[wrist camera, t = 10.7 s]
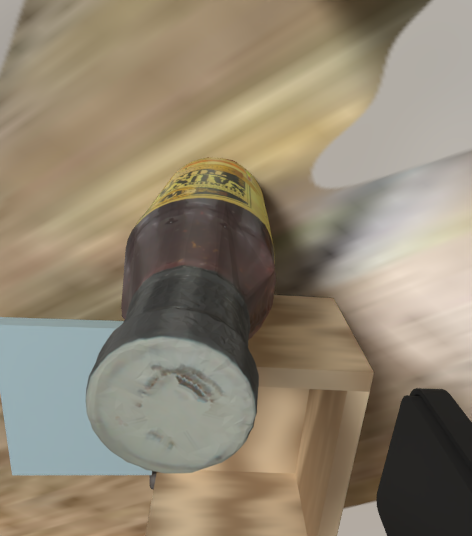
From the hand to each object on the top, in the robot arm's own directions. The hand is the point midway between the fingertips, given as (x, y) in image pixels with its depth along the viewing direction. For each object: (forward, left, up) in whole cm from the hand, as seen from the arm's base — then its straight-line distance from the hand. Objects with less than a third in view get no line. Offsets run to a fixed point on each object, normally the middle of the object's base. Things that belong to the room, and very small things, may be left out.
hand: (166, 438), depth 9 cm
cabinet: (-3, +14, -21) cm, 26 cm away
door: (+8, +14, -20) cm, 25 cm away
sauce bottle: (0, 0, -21) cm, 21 cm away
